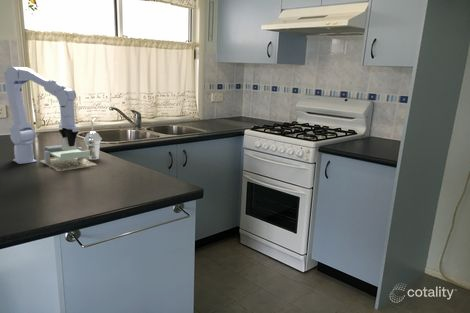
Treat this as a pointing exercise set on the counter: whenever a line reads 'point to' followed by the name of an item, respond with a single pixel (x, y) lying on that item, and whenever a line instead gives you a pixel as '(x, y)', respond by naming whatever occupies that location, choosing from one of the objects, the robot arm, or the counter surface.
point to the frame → (66, 162)
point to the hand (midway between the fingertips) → (69, 145)
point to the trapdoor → (66, 152)
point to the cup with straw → (93, 143)
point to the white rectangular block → (65, 144)
